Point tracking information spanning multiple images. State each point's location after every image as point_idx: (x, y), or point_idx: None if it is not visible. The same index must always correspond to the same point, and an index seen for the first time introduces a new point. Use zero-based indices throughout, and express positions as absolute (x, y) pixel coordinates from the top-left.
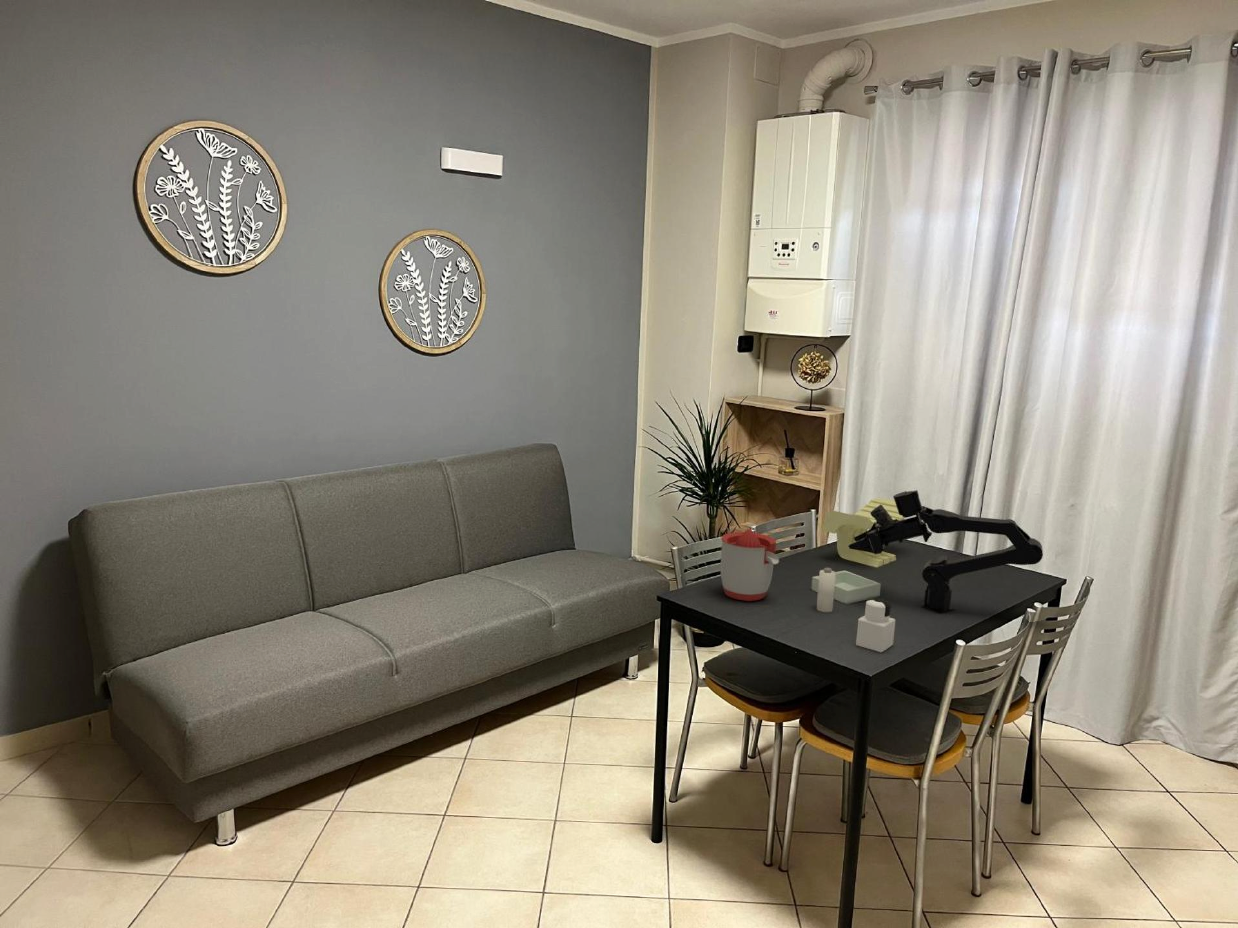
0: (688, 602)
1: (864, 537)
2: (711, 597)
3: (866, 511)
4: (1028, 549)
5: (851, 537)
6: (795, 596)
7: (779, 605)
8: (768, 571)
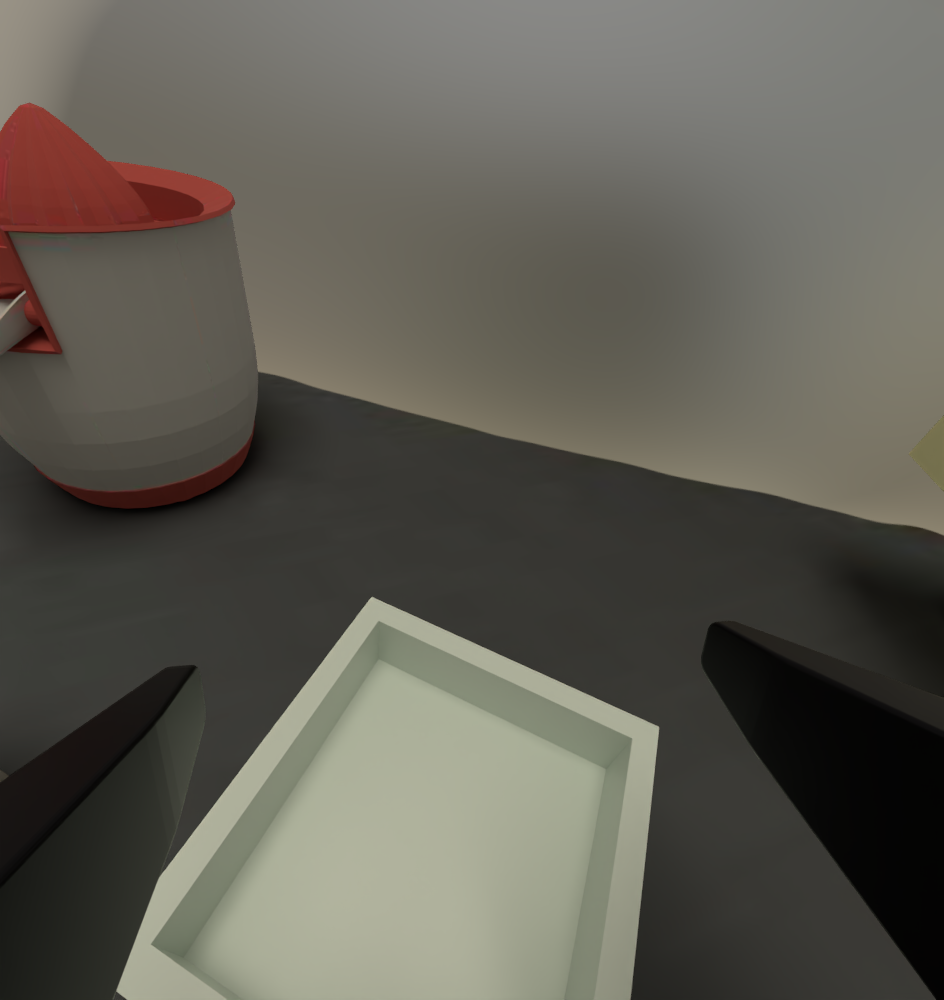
0: None
1: (863, 789)
2: None
3: None
4: None
5: None
6: (215, 607)
7: (23, 583)
8: (3, 395)
